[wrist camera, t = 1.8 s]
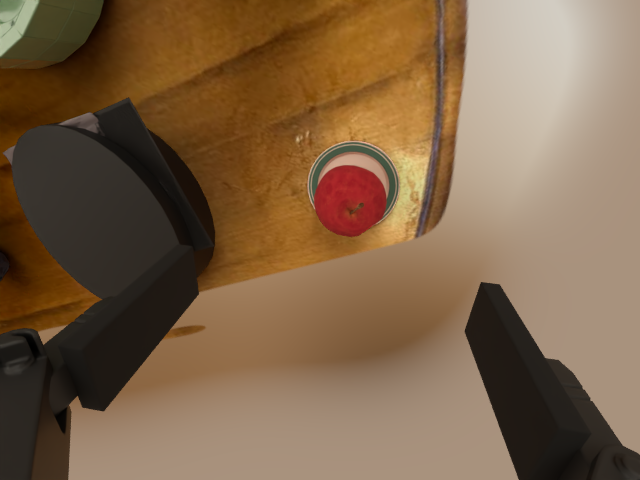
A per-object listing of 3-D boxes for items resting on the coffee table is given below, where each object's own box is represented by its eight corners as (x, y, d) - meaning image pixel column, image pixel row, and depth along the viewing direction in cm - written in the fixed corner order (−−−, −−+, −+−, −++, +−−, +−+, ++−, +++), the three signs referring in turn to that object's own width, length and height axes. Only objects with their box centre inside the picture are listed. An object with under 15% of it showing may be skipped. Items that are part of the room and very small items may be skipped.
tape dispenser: (145, 283, 39) (103, 328, 33) (39, 138, 31) (-44, 159, 25) (252, 255, 36) (229, 299, 29) (162, 82, 28) (103, 90, 21)
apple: (414, 156, 27) (424, 177, 21) (380, 238, 31) (381, 275, 25) (322, 127, 27) (307, 140, 21) (299, 212, 31) (282, 243, 25)
